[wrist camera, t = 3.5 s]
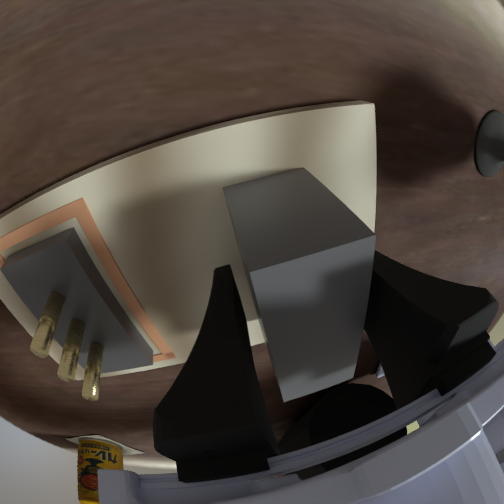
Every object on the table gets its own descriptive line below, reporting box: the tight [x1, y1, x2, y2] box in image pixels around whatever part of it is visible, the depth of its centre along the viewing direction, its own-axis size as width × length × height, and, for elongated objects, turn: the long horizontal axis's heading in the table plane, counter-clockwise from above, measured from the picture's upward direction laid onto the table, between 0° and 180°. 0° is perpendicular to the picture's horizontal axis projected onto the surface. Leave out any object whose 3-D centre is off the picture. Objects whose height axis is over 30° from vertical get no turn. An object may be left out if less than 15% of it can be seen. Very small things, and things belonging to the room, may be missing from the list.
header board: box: [0, 100, 377, 401], centre depth 11 cm, size 20×12×5 cm, turn 101°
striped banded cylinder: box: [267, 383, 407, 480], centre depth 30 cm, size 10×34×10 cm, turn 169°
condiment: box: [66, 435, 144, 504], centre depth 22 cm, size 7×8×12 cm
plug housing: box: [222, 167, 376, 402], centre depth 11 cm, size 3×8×5 cm, turn 11°
